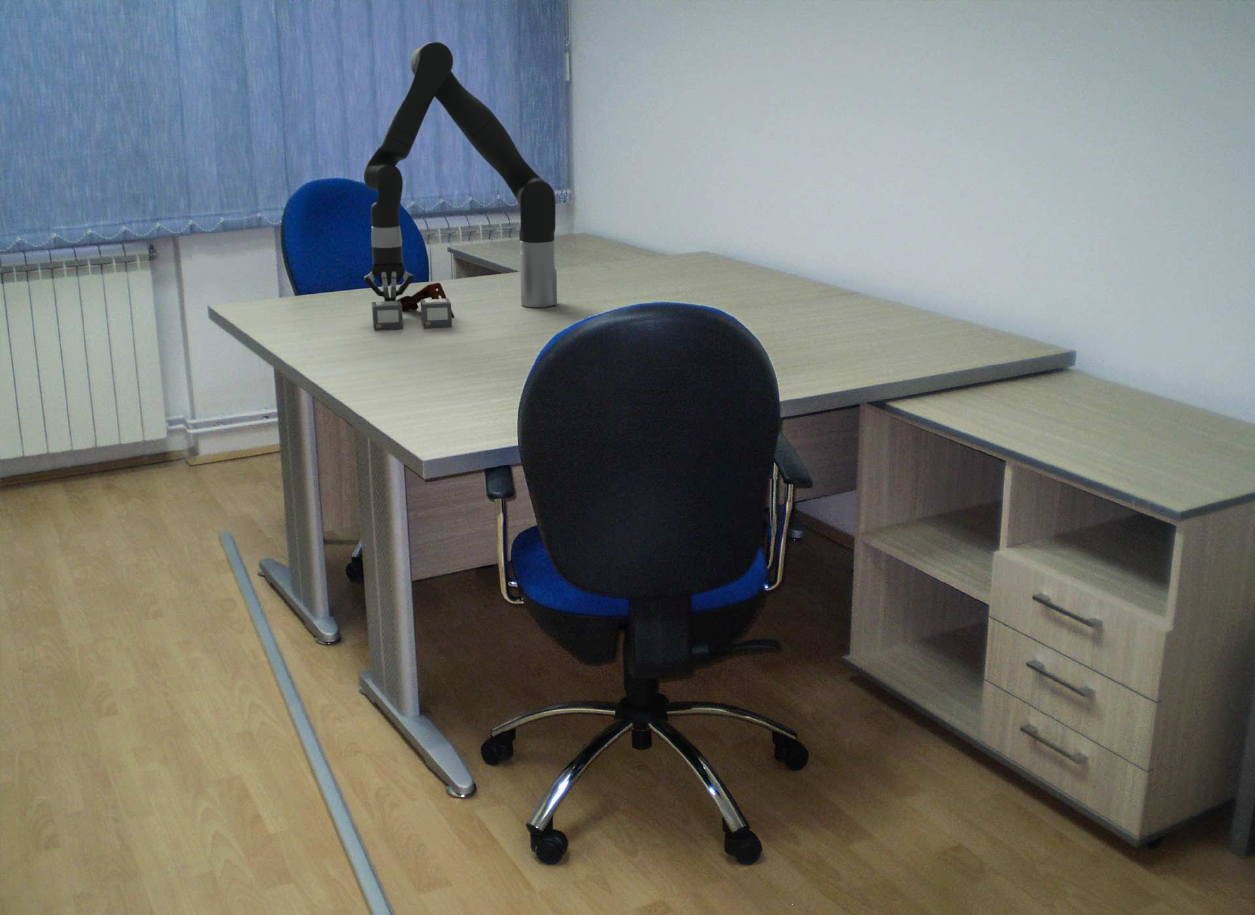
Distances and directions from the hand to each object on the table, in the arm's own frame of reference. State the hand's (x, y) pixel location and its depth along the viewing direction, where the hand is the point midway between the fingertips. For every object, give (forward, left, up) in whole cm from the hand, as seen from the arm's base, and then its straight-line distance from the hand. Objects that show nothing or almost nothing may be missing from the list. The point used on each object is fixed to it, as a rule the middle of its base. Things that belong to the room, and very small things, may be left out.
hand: (390, 311), depth 326 cm
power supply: (+1, +12, -2) cm, 12 cm away
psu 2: (-11, +12, -2) cm, 16 cm away
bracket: (-7, 0, -2) cm, 7 cm away
